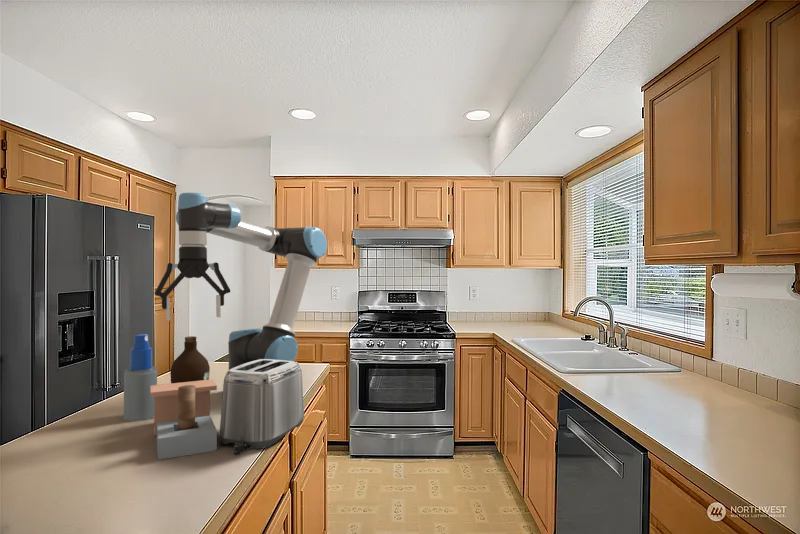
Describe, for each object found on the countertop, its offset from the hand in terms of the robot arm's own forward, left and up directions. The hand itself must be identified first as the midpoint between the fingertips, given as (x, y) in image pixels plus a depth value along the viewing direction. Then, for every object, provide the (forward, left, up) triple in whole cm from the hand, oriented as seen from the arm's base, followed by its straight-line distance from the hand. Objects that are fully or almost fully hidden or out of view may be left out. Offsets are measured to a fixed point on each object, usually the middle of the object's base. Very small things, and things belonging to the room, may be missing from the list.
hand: (194, 318), depth 137 cm
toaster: (-16, +19, -31) cm, 39 cm away
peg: (+3, +19, -31) cm, 36 cm away
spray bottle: (+14, -14, -31) cm, 36 cm away
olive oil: (+1, -2, -31) cm, 31 cm away
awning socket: (+3, +15, -31) cm, 34 cm away
